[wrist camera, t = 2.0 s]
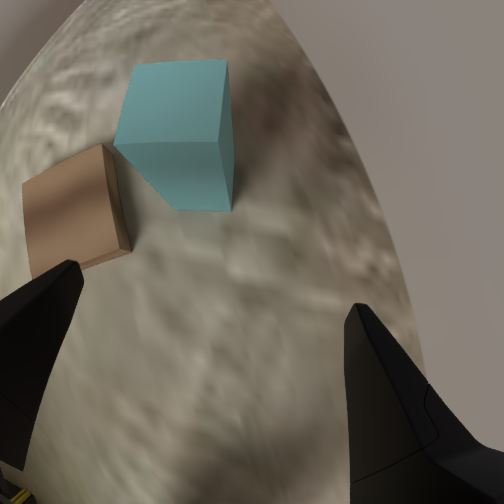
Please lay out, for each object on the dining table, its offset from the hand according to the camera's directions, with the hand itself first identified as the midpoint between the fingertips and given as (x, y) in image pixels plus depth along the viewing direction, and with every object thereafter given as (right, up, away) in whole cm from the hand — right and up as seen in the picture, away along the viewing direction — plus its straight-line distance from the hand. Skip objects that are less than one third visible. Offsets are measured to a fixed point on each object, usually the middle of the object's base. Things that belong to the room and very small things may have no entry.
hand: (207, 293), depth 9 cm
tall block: (-2, +7, +14) cm, 16 cm away
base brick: (-14, +4, +14) cm, 20 cm away
